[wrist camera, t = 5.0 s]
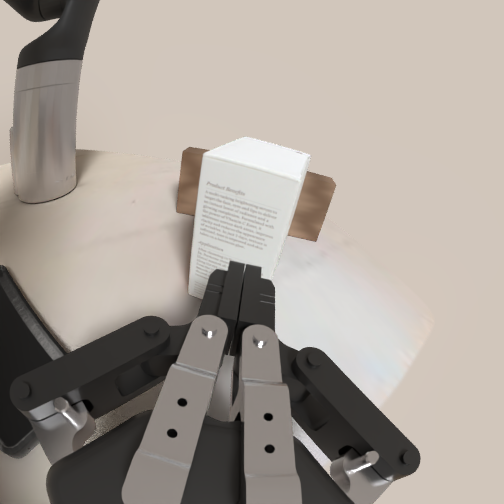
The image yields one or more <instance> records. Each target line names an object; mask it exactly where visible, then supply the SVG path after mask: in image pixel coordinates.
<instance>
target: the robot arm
mask: <svg viewBox="0 0 504 504" xmlns="http://www.w3.org/2000/svg"><path fill="white" fill-rule="evenodd" d="M4 1H5V2H6V3H8V4H9V5H10V6H11V7H12V8H13V9H14V10H16V11H17V12H18V13H19V14H20V15H21V16H23V17H24V18H25V19H27V20H29V21H32V22H42V21H47V20H51V19H56V18H60V19H59V20H58V22H57V23H56V24H55V25H54V26H53V27H51V28H50V29H49V30H48V31H47V32H45V33H44V34H43V35H41V36H40V37H38V38H37V39H35V40H34V41H32V42H31V43H29V44H28V45H26V46H25V47H24V48H23V49H22V50H21V52H20V54H19V58H18V65H17V69H18V70H17V71H16V80H15V91H14V92H15V93H14V109H13V110H14V111H13V127H11V129H10V151H11V166H12V176H13V184H14V191H15V194H16V195H18V196H19V199H20V200H21V201H23V202H27V203H38V202H44V201H49V200H53V199H55V198H58V197H61V196H63V195H65V194H67V193H69V192H70V191H71V190H73V189H74V187H75V186H76V158H75V157H76V149H75V148H76V115H77V101H78V90H79V82H80V74H81V67H82V60H83V55H84V50H85V47H86V43H87V40H88V37H89V32H90V28H91V24H92V21H93V18H94V14H95V12H96V9H97V6H98V3H99V1H100V0H4ZM244 268H245V271H244ZM261 271H262V267H260V266H255V265H250V264H246V266H245V263H240V262H235V261H230V262H229V266H228V271H225V270H220V269H216V270H215V271H213V272H212V273H211V274H210V276H209V279H208V283H207V286H206V290H205V293H204V296H203V299H202V303H201V306H200V310H199V313H198V316H197V317H196V319H194V321H192V322H191V323H189V324H186V325H182V326H169V325H168V323H167V322H166V321H165V320H163V319H162V318H160V317H156V316H146V317H143V318H141V319H139V320H136V321H134V322H132V323H130V324H128V325H126V326H124V327H122V328H120V329H118V330H116V331H114V332H112V333H110V334H108V335H106V336H103V337H101V338H99V339H97V340H95V341H93V342H91V343H89V344H87V345H85V346H83V347H81V348H78V349H76V350H74V351H72V352H70V353H68V354H66V355H64V356H62V357H60V358H57V359H55V360H53V361H51V362H49V363H47V364H45V365H43V366H40V367H38V368H36V369H34V370H32V371H30V372H28V373H25V374H23V375H21V376H19V377H17V378H16V379H15V380H14V381H13V383H12V384H11V387H10V398H11V401H12V403H13V405H14V406H15V407H16V408H17V409H18V410H19V411H21V412H22V413H23V414H24V416H25V417H26V418H27V419H28V420H29V421H30V423H31V425H32V427H33V430H34V432H35V434H36V436H37V438H38V440H39V442H40V444H41V446H42V448H43V450H44V452H45V454H46V456H47V457H48V459H49V461H50V463H51V465H52V466H51V468H50V469H49V471H48V474H47V478H46V488H47V493H48V497H49V500H50V503H51V504H373V503H374V502H375V501H376V500H377V499H378V498H379V496H380V495H381V494H382V493H383V492H384V491H385V490H386V489H387V488H388V486H389V485H390V484H391V483H392V482H393V481H395V480H397V479H400V478H403V477H406V476H408V475H410V474H412V473H414V472H415V471H416V470H417V468H418V467H419V464H420V453H419V451H418V449H417V448H416V447H415V446H414V445H413V444H412V443H411V442H410V441H409V440H408V439H407V438H406V437H405V436H404V435H403V434H402V432H400V430H399V429H398V428H396V427H395V425H394V424H393V423H392V422H391V421H390V420H389V419H388V418H387V417H386V416H385V415H384V414H383V413H382V412H381V411H380V410H379V409H378V408H377V407H376V406H375V405H374V404H373V403H372V402H371V401H370V400H369V399H368V398H367V397H366V396H365V395H364V394H363V393H362V391H361V390H360V389H359V388H358V387H357V386H356V385H355V384H354V383H353V382H352V381H351V380H350V379H349V378H348V377H347V376H346V375H345V374H344V373H343V372H342V371H341V370H340V368H339V367H338V366H337V365H336V364H335V363H334V362H333V361H332V360H331V359H330V358H329V357H328V356H327V355H326V354H325V353H324V352H323V351H321V350H320V349H317V348H314V347H306V348H303V349H301V350H300V351H298V350H295V349H293V348H291V347H288V346H286V345H285V344H283V343H282V342H281V341H280V340H279V339H278V337H277V335H276V333H275V287H274V285H273V283H272V282H271V280H269V279H264V278H261ZM231 341H232V342H231ZM230 345H231V348H230ZM229 349H230V355H231V356H235V358H234V365H233V368H232V372H231V395H230V412H229V418H228V422H222V421H218V420H216V419H214V418H211V417H209V416H207V414H208V410H209V406H210V402H211V398H212V395H213V391H214V387H215V384H216V380H217V376H218V372H219V369H220V367H221V366H222V362H223V358H224V354H225V355H228V353H229ZM163 380H165V381H164V384H163V387H162V389H161V392H160V394H159V397H158V399H157V402H156V404H155V407H154V410H149V411H145V412H142V413H139V414H137V415H135V416H133V417H131V418H130V419H128V420H127V421H125V422H124V423H122V424H120V425H119V426H117V427H116V428H114V429H112V430H111V431H109V432H107V433H106V434H104V435H102V436H101V437H99V438H97V439H96V440H94V441H92V442H90V443H89V444H87V445H85V446H83V445H84V443H85V442H86V440H87V439H89V438H90V437H91V436H92V435H93V434H94V432H95V429H96V423H95V419H97V418H99V417H101V416H103V415H105V414H107V413H108V412H110V411H112V410H114V409H116V408H117V407H119V406H121V405H123V404H124V403H126V402H128V401H130V400H131V399H133V398H135V397H137V396H138V395H140V394H142V393H143V392H145V391H147V390H149V389H150V388H152V387H154V386H155V385H157V384H159V383H160V382H162V381H163ZM291 416H292V417H293V418H294V419H295V421H296V422H297V423H298V424H299V425H300V427H301V428H302V429H303V430H304V431H305V432H306V434H307V435H308V436H309V437H310V438H311V439H312V440H313V442H314V443H315V444H316V445H317V446H318V447H319V448H320V449H321V450H322V452H323V453H324V454H325V455H326V456H327V457H328V458H329V459H330V460H331V461H332V463H331V466H330V475H331V477H332V478H333V479H332V478H331V477H330V476H329V474H327V472H326V471H325V470H324V469H323V467H322V466H321V465H320V464H319V463H318V461H317V460H316V459H315V458H314V457H313V455H312V454H311V453H310V452H309V451H308V449H307V448H306V447H305V446H304V445H303V443H302V442H300V441H299V440H298V439H297V438H296V437H294V436H293V430H292V419H291Z"/></svg>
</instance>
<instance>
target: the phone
mask: <svg viewBox="0 0 504 504" xmlns="http://www.w3.org/2000/svg"><path fill="white" fill-rule="evenodd" d="M66 354H67V353H66V352H65V351H64V349H63V348H62V347H61V346H60V345H59V344H58V342H57V341H56V340H55V339H54V337H53V336H52V335H51V334H50V332H49V331H48V330H47V329H46V327H45V326H44V325H43V323H42V322H41V321H40V319H39V318H38V317H37V315H36V314H35V312H34V311H33V310H32V308H31V307H30V305H29V304H28V302H27V301H26V299H25V298H24V296H23V295H22V293H21V292H20V290H19V289H18V287H17V285H16V284H15V282H14V281H13V279H12V277H11V276H10V274H9V272H8V270H7V269H6V267H5V266H3V265H0V450H1V451H3V452H4V453H6V454H7V455H9V456H11V457H14V458H22V457H24V456H26V455H27V454H28V453H29V452H30V451H31V450H32V449H33V448H34V447H35V446H36V445H38V444H39V443H40V442H39V440H38V438H37V436H36V434H35V432H34V430H33V427H32V425H31V423H30V421H29V420H28V419H27V418H26V417H25V416H24V414H23V413H22V412H21V411H19V410H18V409H17V408H16V407H15V406H14V405H13V403H12V401H11V398H10V387H11V384H12V383H13V381H14V380H15V379H16V378H17V377H19V376H21V375H23V374H25V373H28V372H30V371H32V370H34V369H36V368H38V367H40V366H43V365H45V364H47V363H49V362H51V361H53V360H55V359H57V358H60V357H62V356H64V355H66ZM28 448H30V449H28Z"/></svg>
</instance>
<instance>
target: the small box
mask: <svg viewBox="0 0 504 504" xmlns="http://www.w3.org/2000/svg"><path fill="white" fill-rule="evenodd" d="M310 159H311V155H309V154H306V153H303V152H300V151H297V150H294V149H290V148H287V147H283V146H280V145H276V144H272V143H269V142H265V141H262V140H258V139H254V138H249V137H243V138H240V139H237V140H235V141H233V142H230V143H227V144H224V145H222V146H220V147H217V148H215V149H212V150H210V151H208V152H205V153H203V156H202V163H201V170H200V177H199V185H198V192H197V201H196V209H195V218H194V229H193V238H192V248H191V259H190V274H189V286H188V294H189V295H192V296H194V297H197V298H200V299H203V296H204V293H205V290H206V286H207V283H208V279H209V276H210V274H211V273H212V272H213V271H215V270H216V269H220V270H225V271H228V266H229V262H230V261H235V262H240V263H245V266H246V264H250V265H255V266H260V267H262V271H261V278H264V279H269V280H271V281H272V278H273V276H274V273H275V270H276V267H277V264H278V261H279V259H280V256H281V253H282V250H283V247H284V244H285V241H286V238H287V235H288V231H289V228H290V225H291V222H292V219H293V216H294V212H295V209H296V206H297V202H298V199H299V196H300V192H301V189H302V186H303V182H304V179H305V176H306V172H307V169H308V165H309V162H310ZM244 271H245V268H244Z"/></svg>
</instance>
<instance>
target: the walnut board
mask: <svg viewBox="0 0 504 504" xmlns="http://www.w3.org/2000/svg"><path fill="white" fill-rule="evenodd" d="M208 151H210V150H205V149H199V148H192V147H189V148H187V149H186V150H184V151H183V154H182V162H181V170H180V179H179V189H178V200H177V212H178V213H184V214H189V215H194V216H195V209H196V201H197V192H198V185H199V177H200V170H201V163H202V156H203V153H205V152H208ZM335 187H336V184H335V182H334V181H333V179H332V178H330V177H326V176H323V175H319V174H316V173H311V172H308V171H307V172H306V176H305V179H304V182H303V186H302V189H301V192H300V196H299V199H298V202H297V206H296V209H295V212H294V216H293V219H292V222H291V225H290V228H289V231H288V235H289V236H294V237H298V238H303V239H307V240H311V241H317V238H318V235H319V232H320V230H321V227H322V224H323V221H324V219H325V216H326V213H327V210H328V207H329V204H330V202H331V199H332V196H333V193H334V190H335Z"/></svg>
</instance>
